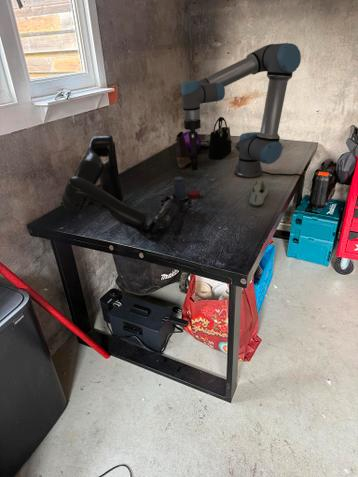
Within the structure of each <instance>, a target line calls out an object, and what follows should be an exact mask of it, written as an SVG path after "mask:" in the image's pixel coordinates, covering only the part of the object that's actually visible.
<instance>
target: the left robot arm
mask: <svg viewBox="0 0 358 477" xmlns="http://www.w3.org/2000/svg"><path fill="white" fill-rule="evenodd" d="M116 149H117V147H116V142H115V138H114V137H113V135H110V134H109V135H94V136H92V137H91V138H90V140H89V143H88V145H87V148H86V151H85V153H84V155H83V156H82V158H81V159H80V161H79V163H78V165H77V168H76V170H75V173H74V175H73V176H72V177H70V178H69V179H68V180H67V182H66V185H65V187H64V189H63V192H62V194H61V203H60V204H61V205H62V206H63V207H64V208H65V209H66V210H67V211H69V212H71V213H81V212H82V211H84V210H85V209H87V207H88V205H89V204H92V203H94V202H98V203H99V204H101V205H102V207H104V208H106V210H107V211H108V212H109V213H110V215H111V216H112V217H113V218H114V219H115V220H116V221H117V222H119V223H120V224H122V225H125V226H127V227H129V228H131V229H133V230H135V231H137V233H139V234H140V235H141V236H143V237H144V238H145V239H147V241H150V242H152V243H159V242H161V241H162V240H163V239H164V237H165V236H166V235H167V233H168V232H169V230H170V229H171V227H172V225H173V223H174V222H175V220H177V219H178V217H179V215H180V214H181V213H182V212H181V210H182V208H184V207H185V206H186V208H188V209H190V208H192V203H193V202H192V198H191V197H190V195H189V193H186V194H185V197H184V198H183V197H182V198H180V199H175V192H173V193H172V194H171V195H170V196H169V195H166V196H164V197H163V198H161V199H160V206H161V208H160V210H159V212H158V213H157V214H156V215H155V216H154V217H153V219H152V220H151V222H150V224H149V225H148V224H147V223H146V221H147V214H146V213H145V212H143V211H141V210H139V209H137V208H135V207H133V206H131V205H129V204H126V203H125V202H124V200H123V198H124V196H123V194H122V187H121V180H120V174H119V173H120V172H119V166H118V158H117V150H116ZM103 158H108V159H107V160H106V161H103ZM98 181H99V183H100V184H99V185H100V187H99V186H98V185H96V184H97V182H98Z"/></svg>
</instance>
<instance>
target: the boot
mask: <svg viewBox="0 0 358 477" xmlns="http://www.w3.org/2000/svg"><path fill="white" fill-rule="evenodd" d="M184 133H185V132H184V131H179V132H178V133H177V135H176V138H175V141H176V151H175V159H176V162H177V165H178V168H179V169H183V168H185V167H186V166H187V165H188V164H191V157H190V155H191V153H190V152H188V150H187V146H186V142H185V138H184Z"/></svg>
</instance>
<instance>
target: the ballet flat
mask: <svg viewBox="0 0 358 477" xmlns="http://www.w3.org/2000/svg"><path fill="white" fill-rule="evenodd" d="M268 194H269V189H268V186H267V183H266V182H265V181H264V180H262V179H257V180H255V181H254V182H253V184H252V187H251V190H250V196H249V204H250V205H251V206H252V207H260V206H261V205H263V203H264V201H265V198H266V196H267V195H268Z"/></svg>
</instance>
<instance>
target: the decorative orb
mask: <svg viewBox="0 0 358 477" xmlns="http://www.w3.org/2000/svg"><path fill="white" fill-rule="evenodd" d="M189 132H190V130H187V131H185V132H183V133H184V138H185V142H186V146H187V150H188V152H190V153H191V143H190V142H189ZM201 140H202V139H201V137H200V135H199V134H198V133H197V143H196V145H198V147H196V148H197V151H198V150H199V149H200V145H201Z"/></svg>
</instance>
